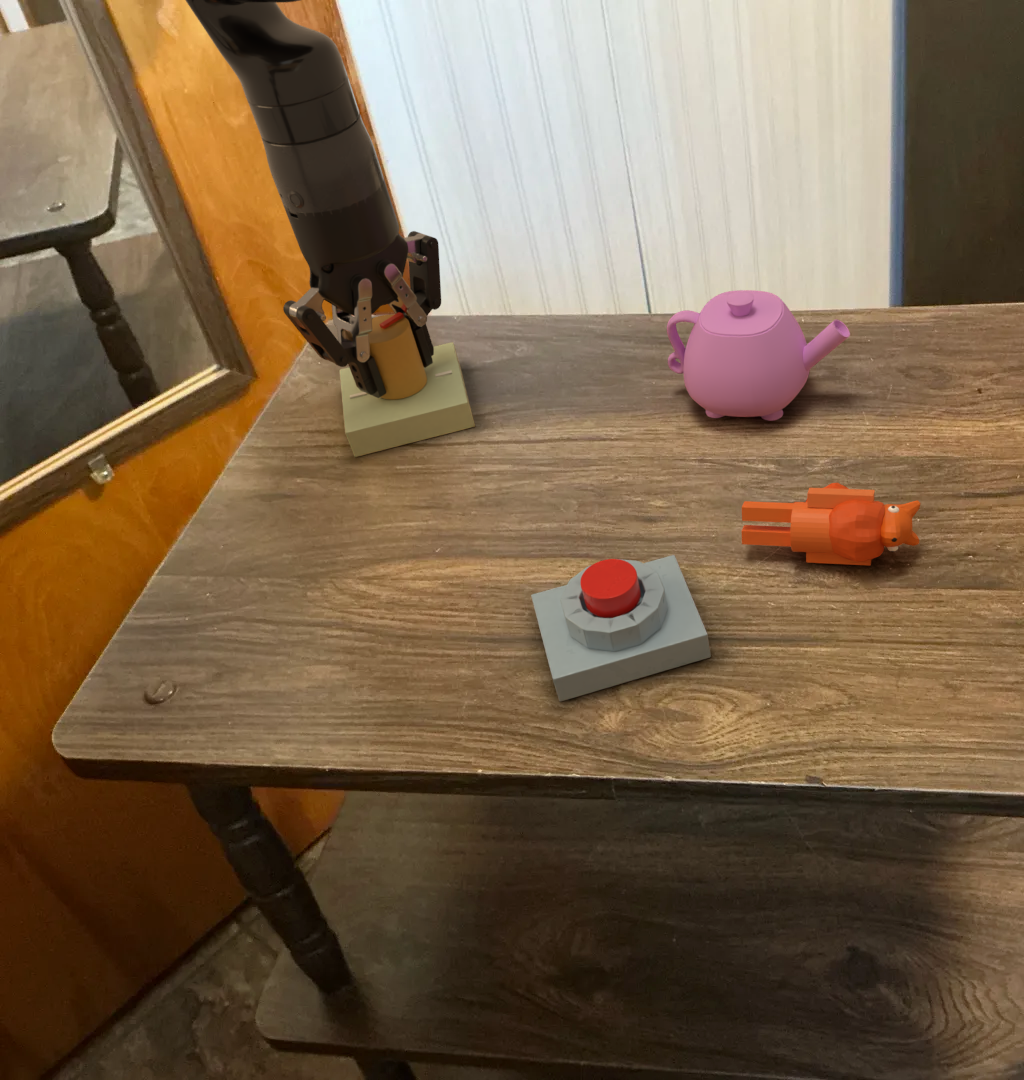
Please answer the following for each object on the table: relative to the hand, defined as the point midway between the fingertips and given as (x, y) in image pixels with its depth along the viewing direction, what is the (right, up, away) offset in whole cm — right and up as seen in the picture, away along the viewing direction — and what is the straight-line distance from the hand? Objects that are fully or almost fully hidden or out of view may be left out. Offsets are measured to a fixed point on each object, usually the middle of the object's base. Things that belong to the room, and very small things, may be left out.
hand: (399, 377), depth 95 cm
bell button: (+20, -17, -23) cm, 35 cm away
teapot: (+30, -2, -1) cm, 30 cm away
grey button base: (+20, -20, -20) cm, 35 cm away
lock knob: (0, -1, +1) cm, 1 cm away
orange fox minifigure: (+35, -14, -15) cm, 40 cm away
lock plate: (0, -2, +2) cm, 3 cm away
